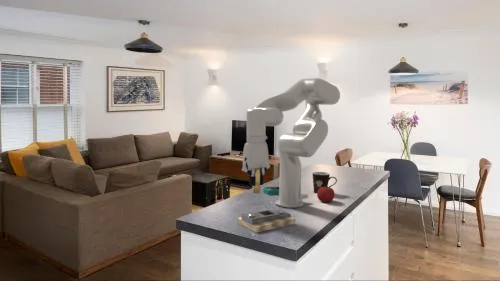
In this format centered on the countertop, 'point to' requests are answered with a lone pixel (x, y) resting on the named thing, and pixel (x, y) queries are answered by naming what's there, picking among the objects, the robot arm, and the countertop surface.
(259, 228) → the board
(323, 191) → the tomato
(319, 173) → the coffee mug
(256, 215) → the plate
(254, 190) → the brass pin
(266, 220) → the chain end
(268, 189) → the digital multimeter
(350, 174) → the countertop surface
